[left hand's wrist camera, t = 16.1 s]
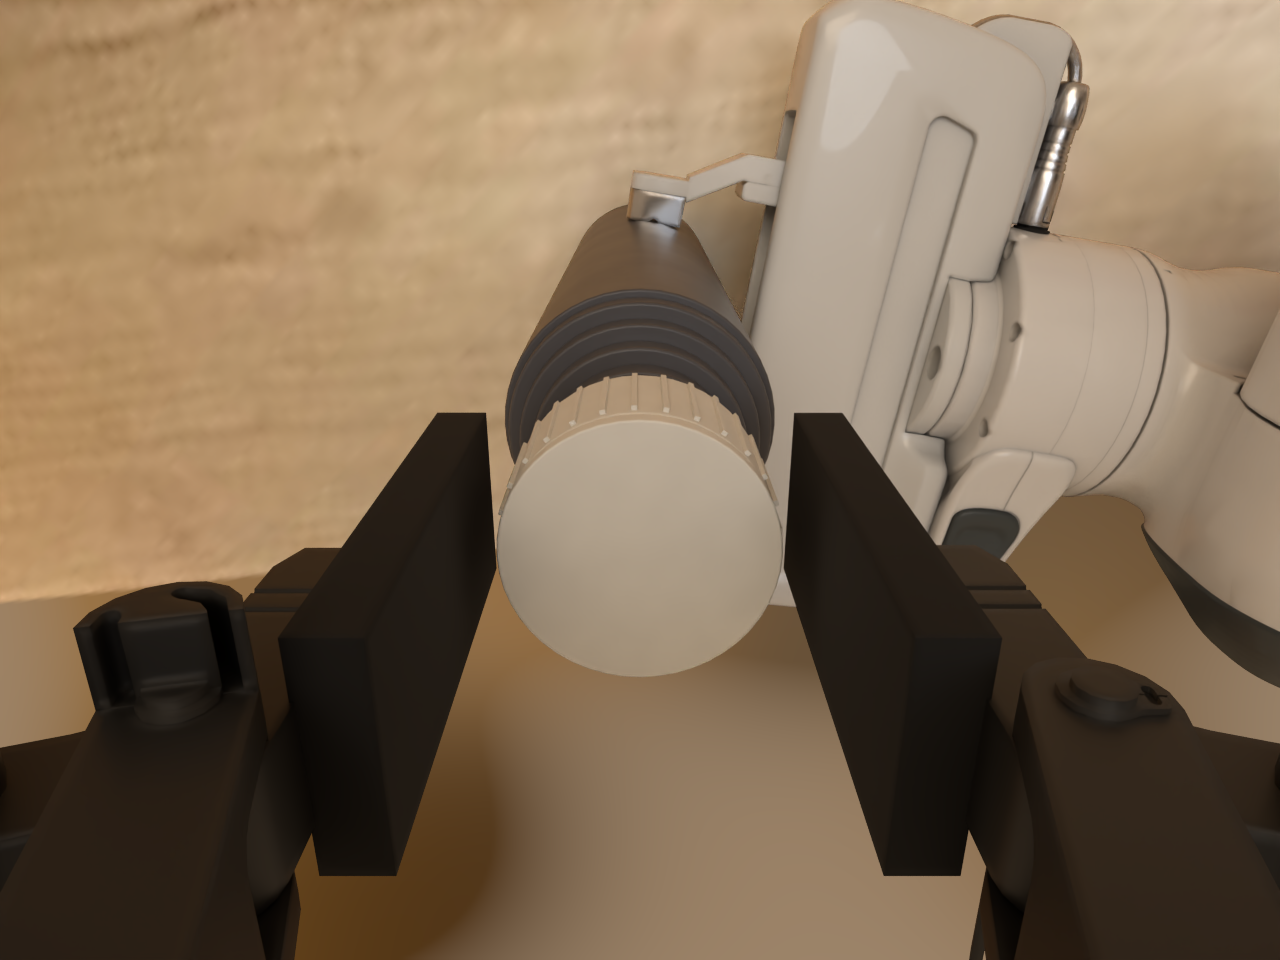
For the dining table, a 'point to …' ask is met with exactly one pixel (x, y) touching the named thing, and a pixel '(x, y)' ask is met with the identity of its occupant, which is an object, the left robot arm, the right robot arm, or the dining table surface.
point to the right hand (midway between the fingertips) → (613, 296)
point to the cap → (639, 528)
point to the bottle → (639, 328)
